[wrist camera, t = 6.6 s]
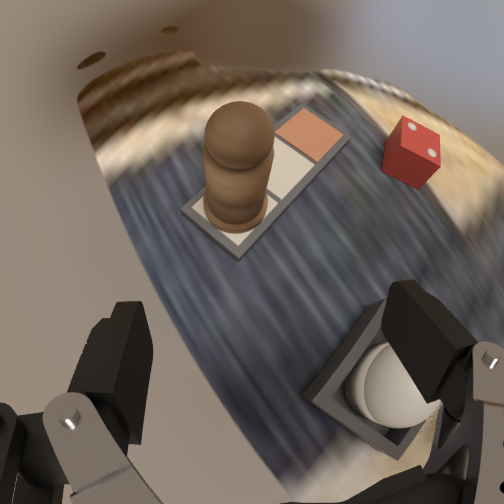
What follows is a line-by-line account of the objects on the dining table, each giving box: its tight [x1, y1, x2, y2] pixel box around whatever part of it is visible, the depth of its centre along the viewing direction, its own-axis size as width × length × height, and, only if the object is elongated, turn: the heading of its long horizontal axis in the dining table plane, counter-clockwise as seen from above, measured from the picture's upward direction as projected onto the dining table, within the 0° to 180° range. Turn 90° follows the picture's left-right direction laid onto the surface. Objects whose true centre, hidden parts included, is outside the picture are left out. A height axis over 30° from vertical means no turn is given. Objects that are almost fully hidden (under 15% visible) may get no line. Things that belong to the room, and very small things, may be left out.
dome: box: [344, 342, 441, 428], centre depth 20 cm, size 7×7×8 cm
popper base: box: [301, 299, 426, 460], centre depth 23 cm, size 10×10×4 cm
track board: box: [180, 103, 352, 262], centre depth 30 cm, size 19×7×1 cm, turn 140°
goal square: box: [275, 108, 343, 163], centre depth 31 cm, size 6×6×1 cm
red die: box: [381, 116, 441, 189], centre depth 30 cm, size 5×5×5 cm
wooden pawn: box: [203, 101, 275, 234], centre depth 22 cm, size 6×6×12 cm
